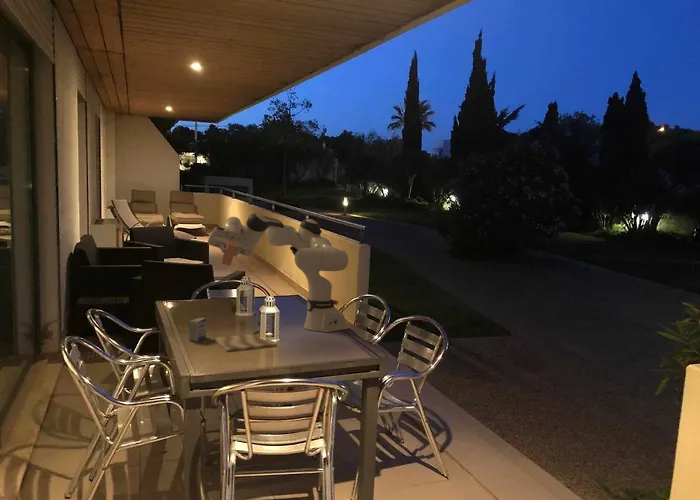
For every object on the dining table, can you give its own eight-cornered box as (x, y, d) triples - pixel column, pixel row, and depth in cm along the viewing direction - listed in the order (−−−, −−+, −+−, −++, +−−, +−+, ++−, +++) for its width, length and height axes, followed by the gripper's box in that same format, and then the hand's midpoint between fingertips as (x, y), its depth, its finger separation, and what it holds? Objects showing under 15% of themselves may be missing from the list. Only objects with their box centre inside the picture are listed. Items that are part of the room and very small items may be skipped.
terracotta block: (230, 261, 254) (237, 242, 250) (230, 266, 251) (237, 247, 247) (221, 258, 253) (228, 240, 249) (221, 263, 250) (228, 244, 245)
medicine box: (197, 342, 241) (198, 322, 240) (188, 340, 242) (188, 321, 241) (206, 337, 249) (206, 318, 248) (196, 336, 250) (197, 317, 249)
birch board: (261, 335, 256) (261, 333, 256) (276, 346, 241) (276, 343, 241) (213, 340, 245) (213, 337, 245) (226, 351, 230) (226, 349, 230)
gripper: (250, 250, 265) (250, 265, 253) (207, 237, 259) (205, 252, 247) (255, 238, 262) (254, 253, 250) (211, 225, 256) (209, 240, 244)
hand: (229, 253), depth 249 cm, fingers closed on terracotta block, 4 cm apart
